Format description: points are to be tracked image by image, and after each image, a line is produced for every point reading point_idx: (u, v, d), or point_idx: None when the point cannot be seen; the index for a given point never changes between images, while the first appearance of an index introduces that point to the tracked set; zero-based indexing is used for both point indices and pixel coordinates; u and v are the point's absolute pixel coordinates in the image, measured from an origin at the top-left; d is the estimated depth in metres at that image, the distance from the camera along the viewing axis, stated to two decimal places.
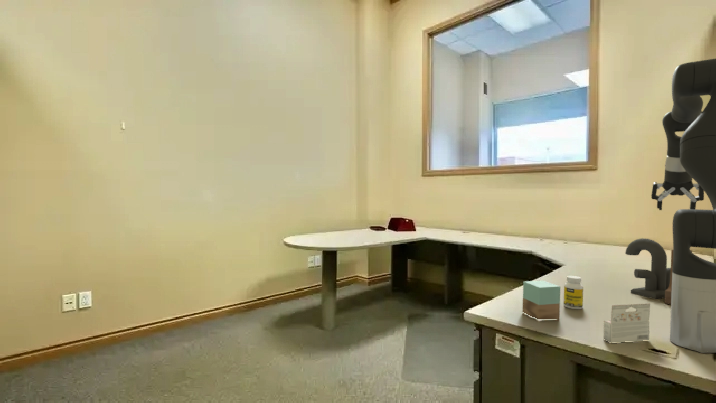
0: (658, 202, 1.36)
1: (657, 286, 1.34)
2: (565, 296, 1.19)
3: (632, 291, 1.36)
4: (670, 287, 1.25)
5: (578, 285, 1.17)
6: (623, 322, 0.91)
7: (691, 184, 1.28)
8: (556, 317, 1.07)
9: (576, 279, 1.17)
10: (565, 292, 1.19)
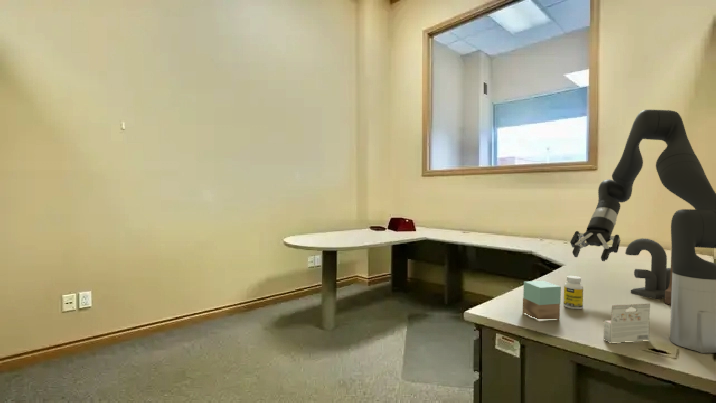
0: (575, 247, 1.31)
1: (657, 286, 1.34)
2: (565, 296, 1.19)
3: (632, 291, 1.36)
4: (670, 287, 1.25)
5: (578, 285, 1.17)
6: (623, 322, 0.91)
7: (608, 234, 1.27)
8: (556, 317, 1.07)
9: (576, 279, 1.17)
10: (565, 292, 1.19)
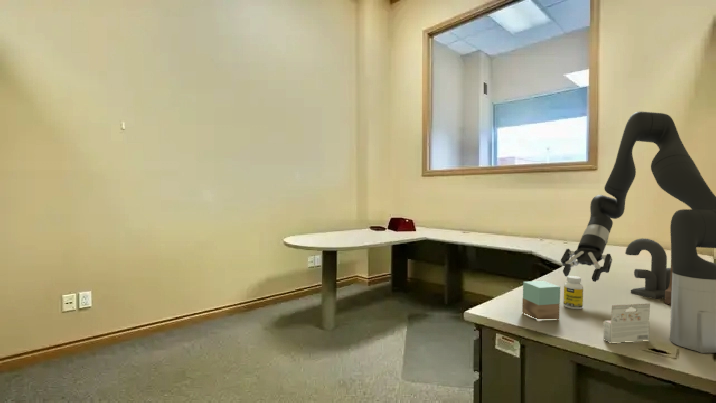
0: (565, 266, 1.27)
1: (657, 286, 1.34)
2: (565, 296, 1.19)
3: (632, 291, 1.36)
4: (670, 287, 1.25)
5: (578, 285, 1.17)
6: (623, 322, 0.91)
7: (599, 253, 1.23)
8: (556, 317, 1.07)
9: (576, 279, 1.17)
10: (565, 292, 1.19)
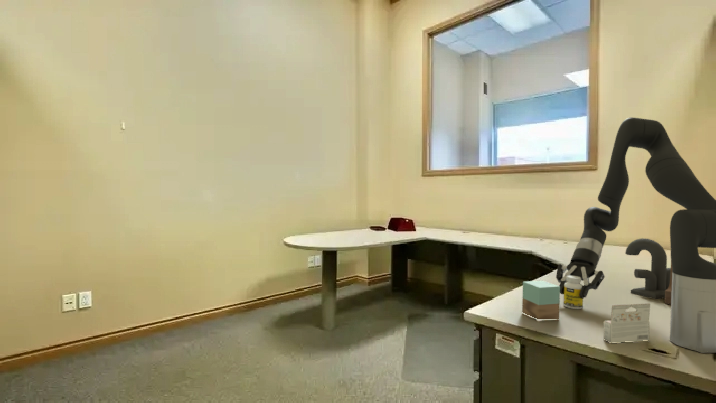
0: (561, 283, 1.22)
1: (657, 286, 1.34)
2: (565, 296, 1.19)
3: (632, 291, 1.36)
4: (670, 287, 1.25)
5: (578, 285, 1.17)
6: (623, 322, 0.91)
7: (593, 268, 1.19)
8: (556, 317, 1.07)
9: (576, 279, 1.17)
10: (565, 292, 1.19)
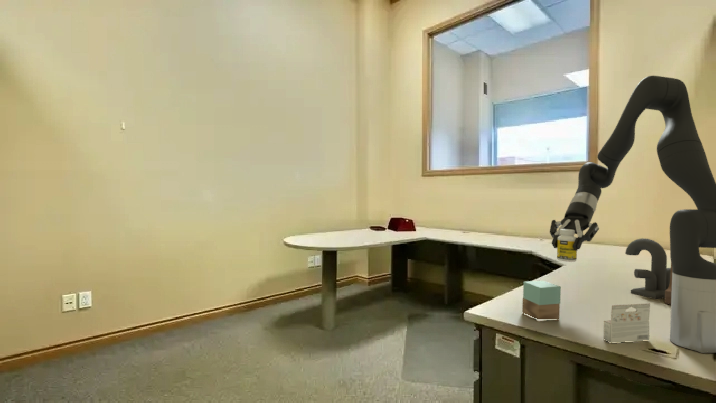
0: (554, 237, 1.19)
1: (657, 286, 1.34)
2: (558, 249, 1.16)
3: (632, 291, 1.36)
4: (670, 287, 1.25)
5: (571, 237, 1.14)
6: (623, 322, 0.91)
7: (587, 220, 1.16)
8: (556, 317, 1.07)
9: (569, 231, 1.14)
10: (558, 245, 1.16)
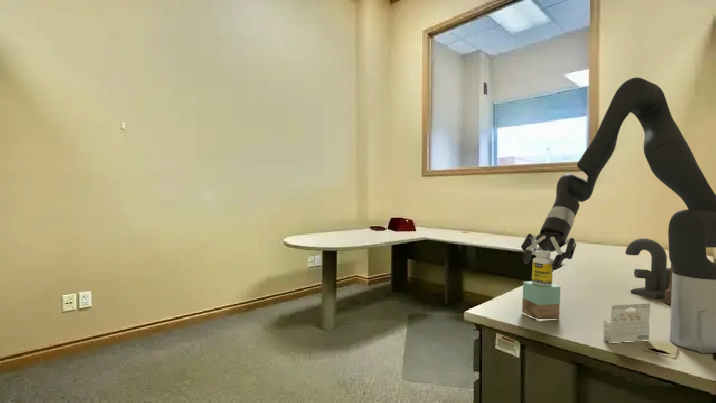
0: (526, 253, 1.13)
1: (657, 286, 1.34)
2: (533, 272, 1.09)
3: (632, 291, 1.36)
4: (670, 287, 1.25)
5: (547, 260, 1.07)
6: (623, 322, 0.91)
7: (563, 237, 1.09)
8: (556, 317, 1.07)
9: (545, 253, 1.07)
10: (533, 268, 1.09)
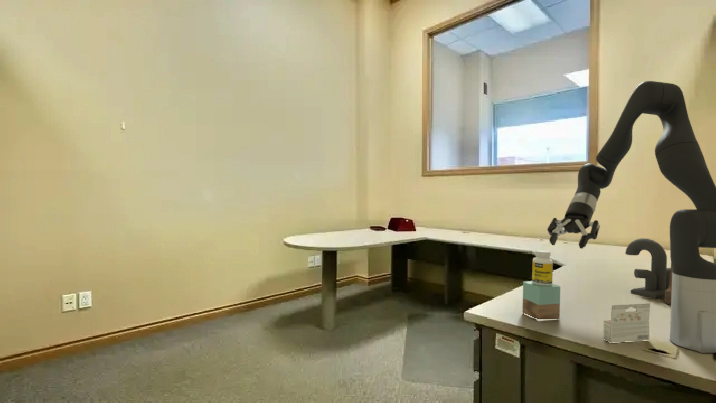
0: (552, 235, 1.22)
1: (657, 286, 1.34)
2: (533, 272, 1.09)
3: (632, 291, 1.36)
4: (670, 287, 1.25)
5: (547, 259, 1.07)
6: (623, 322, 0.91)
7: (587, 220, 1.19)
8: (556, 317, 1.07)
9: (545, 253, 1.07)
10: (533, 268, 1.09)
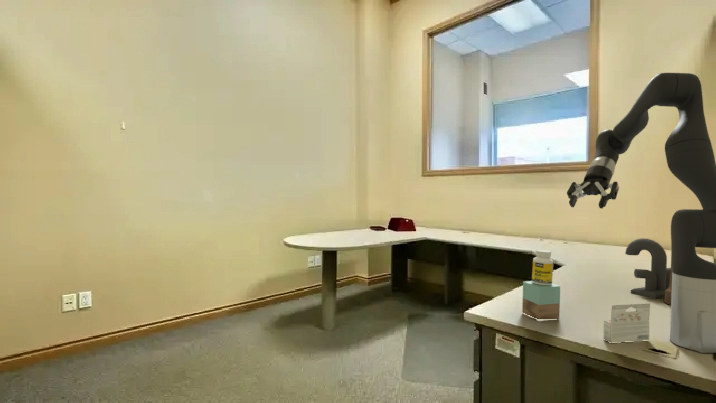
0: (571, 197, 1.26)
1: (657, 286, 1.34)
2: (533, 272, 1.09)
3: (632, 291, 1.36)
4: (670, 287, 1.25)
5: (547, 259, 1.07)
6: (623, 322, 0.91)
7: (606, 182, 1.22)
8: (556, 317, 1.07)
9: (546, 253, 1.07)
10: (534, 267, 1.09)
